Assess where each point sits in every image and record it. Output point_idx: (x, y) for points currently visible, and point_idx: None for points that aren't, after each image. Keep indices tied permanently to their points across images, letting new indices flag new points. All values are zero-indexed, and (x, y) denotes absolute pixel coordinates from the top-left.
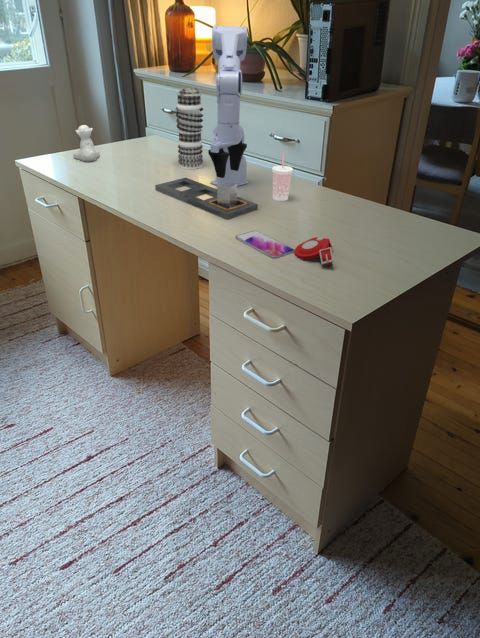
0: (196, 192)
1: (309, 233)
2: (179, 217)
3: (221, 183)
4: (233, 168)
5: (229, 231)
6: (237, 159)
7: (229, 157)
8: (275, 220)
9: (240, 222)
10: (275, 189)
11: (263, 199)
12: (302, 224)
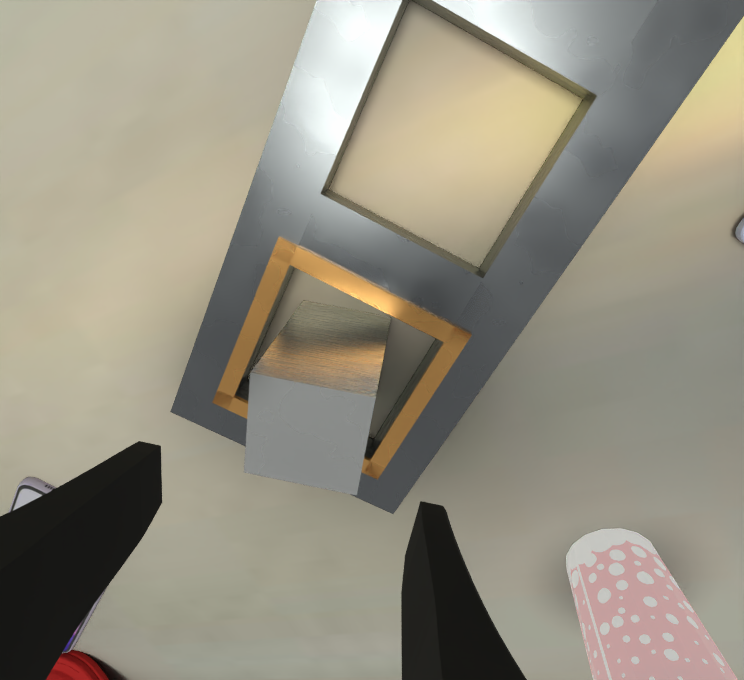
0: (498, 42)
1: (232, 674)
2: (54, 125)
3: (301, 392)
4: (412, 540)
5: (70, 440)
6: (407, 675)
7: (437, 602)
8: (293, 575)
9: (191, 458)
10: (591, 595)
11: (567, 491)
12: (302, 654)
